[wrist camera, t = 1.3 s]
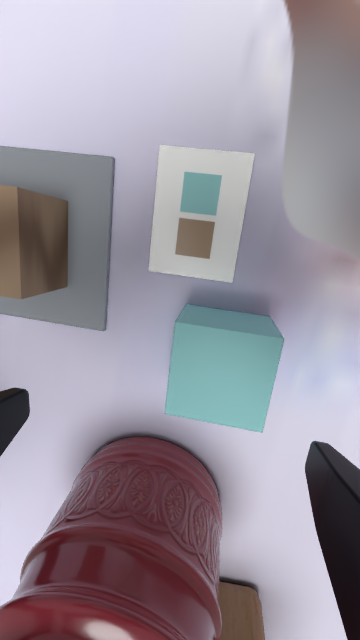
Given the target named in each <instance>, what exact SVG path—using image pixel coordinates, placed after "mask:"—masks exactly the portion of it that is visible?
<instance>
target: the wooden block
mask: <svg viewBox="0 0 360 640" xmlns="http://www.w3.org/2000/svg"><path fill="white" fill-rule="evenodd" d="M219 607H220V611H221V617H222V633H221V638H220V640H265V636H264V626H263V617H262V607H261V602H260V600H259V597H258V595H257V592H256V590H254V589H252V588H251V587H247V586H241V585H236V584H230V583H225V582H219Z"/></svg>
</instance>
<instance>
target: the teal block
mask: <svg viewBox="0 0 360 640" xmlns="http://www.w3.org/2000/svg"><path fill="white" fill-rule="evenodd" d="M283 343H284V338H283V336H282V334H281V333H280V331H279V330H278V328H277V327H276V325H275V324H274V322H273V321H272V319H271V318H270V316H263V315H257V314H250V313H243V312H236V311H229V310H223V309H216V308H209V307H202V306H195V305H189V304H186V305H185V307H184V308H183V310H182V312H181V313H180V315H179V317H178V318H177V320H176V321H175V327H174V336H173V345H172V353H171V362H170V370H169V379H168V388H167V396H166V405H165V414H168V415H173V416H178V417H184V418H189V419H194V420H199V421H204V422H210V423H215V424H220V425H225V426H230V427H236V428H241V429H246V430H251V431H256V432H263V428H264V424H265V419H266V415H267V411H268V407H269V402H270V398H271V394H272V390H273V385H274V381H275V377H276V372H277V368H278V364H279V360H280V355H281V351H282V347H283Z"/></svg>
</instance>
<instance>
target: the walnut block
mask: <svg viewBox="0 0 360 640" xmlns="http://www.w3.org/2000/svg"><path fill="white" fill-rule="evenodd" d="M67 285H68V201H66V200H62V199H58V198H55V197H51V196H48V195H44V194H41V193H37V192H33V191H30V190H26V189H23V188H19V187H14V186H5V185H0V296H3V297H9V298H15V299H25V298H29V297H32V296H36V295H40V294H44V293H47V292H51V291H55V290H58V289H62V288H66V287H67Z"/></svg>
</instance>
